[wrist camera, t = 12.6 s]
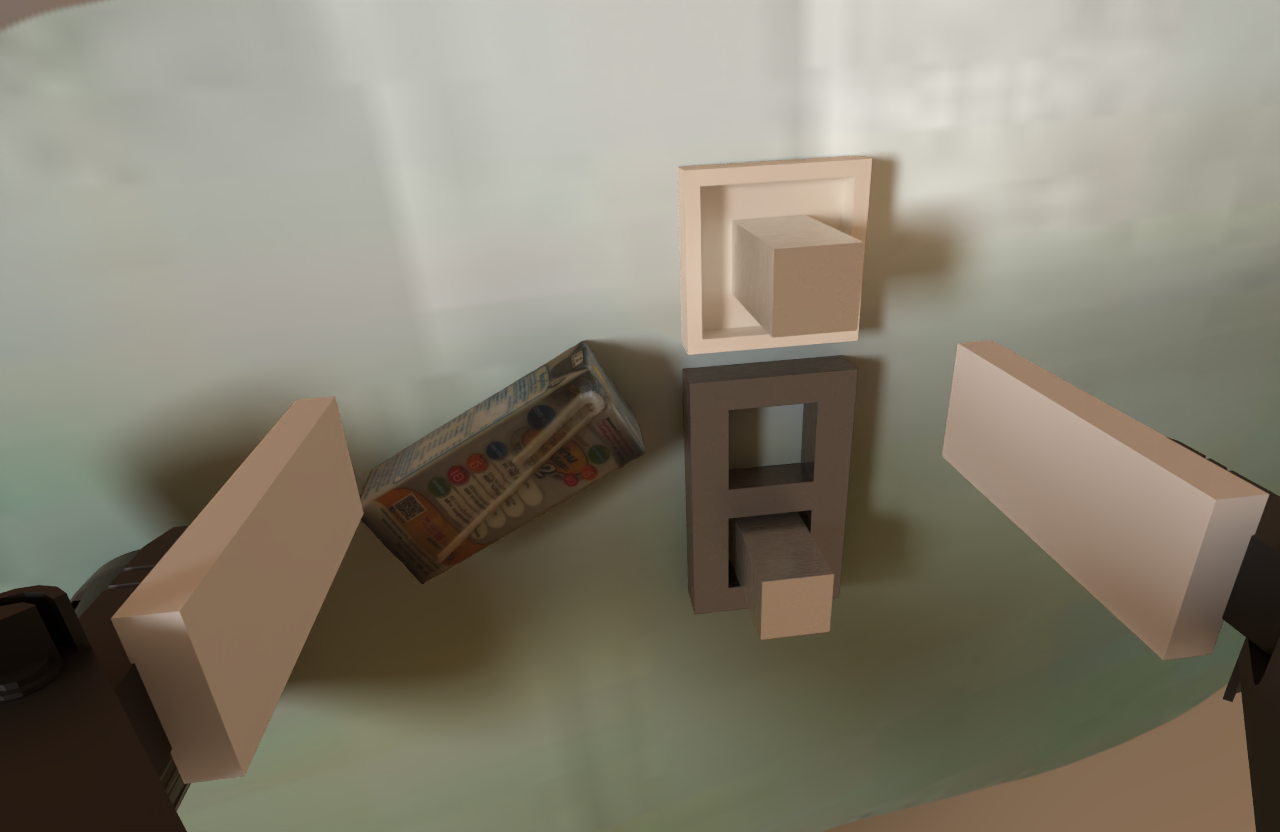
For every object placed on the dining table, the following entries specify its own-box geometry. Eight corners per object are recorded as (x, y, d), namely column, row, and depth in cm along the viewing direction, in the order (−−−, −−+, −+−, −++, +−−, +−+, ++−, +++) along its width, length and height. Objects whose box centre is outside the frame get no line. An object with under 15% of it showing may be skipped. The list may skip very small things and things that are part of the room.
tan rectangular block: (731, 293, 50) (771, 337, 41) (732, 219, 48) (774, 248, 39) (802, 288, 50) (857, 330, 41) (805, 214, 48) (864, 242, 39)
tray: (681, 342, 51) (688, 354, 49) (677, 166, 46) (684, 170, 44) (844, 329, 52) (857, 340, 50) (856, 155, 47) (872, 158, 45)
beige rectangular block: (729, 556, 59) (760, 639, 50) (729, 505, 57) (762, 582, 48) (787, 550, 60) (829, 631, 51) (789, 499, 58) (834, 574, 49)
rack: (688, 591, 60) (694, 614, 58) (682, 369, 52) (689, 384, 49) (826, 575, 61) (839, 598, 59) (842, 355, 53) (857, 369, 50)
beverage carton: (642, 420, 54) (653, 461, 48) (432, 542, 56) (418, 596, 50) (585, 334, 51) (590, 366, 45) (365, 468, 53) (341, 515, 47)
